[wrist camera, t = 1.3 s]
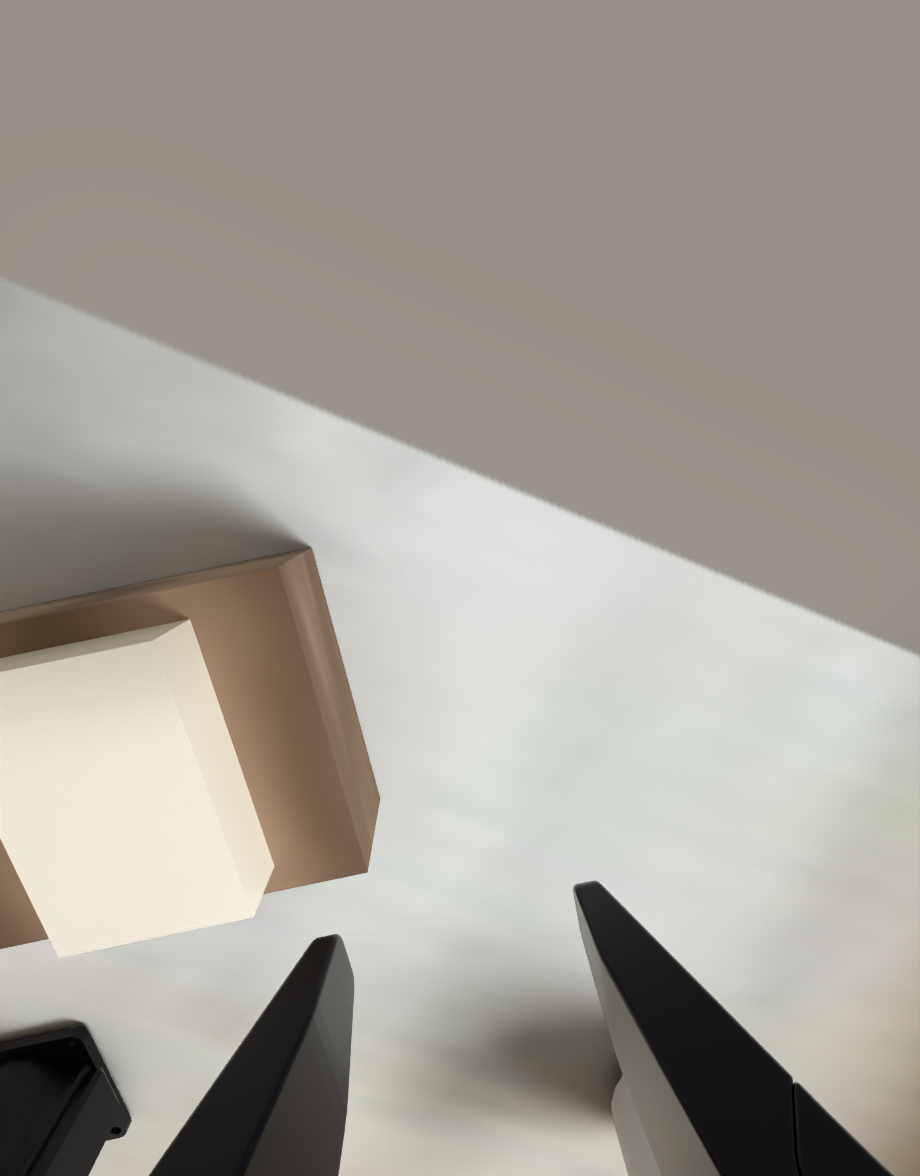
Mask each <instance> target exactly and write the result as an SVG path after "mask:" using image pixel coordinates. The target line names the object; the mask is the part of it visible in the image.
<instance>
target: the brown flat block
mask: <svg viewBox="0 0 920 1176" xmlns="http://www.w3.org/2000/svg"><path fill="white" fill-rule="evenodd" d="M188 619H190V621H191V624H192V627H193V629H194V632H195V635H196V638H197V641H198V644H199V647H200V650H201V653H202V656H203V659H204V662H205V665H206V667H207V670H208V673H209V676H210V679H211V682H212V685H213V688H214V691H215V694H216V697H217V700H218V703H219V705H220V708H221V711H222V714H223V717H224V720H225V723H226V726H227V729H228V732H229V735H230V738H231V741H232V743H233V746H234V749H235V752H236V755H237V758H238V761H239V764H240V767H241V770H242V773H243V776H244V779H245V781H246V784H247V787H248V790H249V793H250V796H251V799H252V802H253V805H254V808H255V811H256V814H257V817H258V820H259V822H260V825H261V828H262V831H263V834H264V837H265V840H266V843H267V846H268V849H269V852H270V855H271V858H272V860H273V863H274V869H273V871H272V873H271V876H270V878H269V881H268V883H267V886H266V888H265V890H264V893H263V894H266V893H271V892H276V891H280V890H285V889H290V888H295V887H300V886H304V885H309V884H314V883H319V882H323V881H328V880H333V879H338V878H343V877H347V876H352V875H357V874H362V873H367V872H368V866H369V860H370V854H371V848H372V843H373V837H374V831H375V825H376V819H377V813H378V808H379V802H380V797H379V793H378V789H377V786H376V782H375V778H374V775H373V771H372V767H371V764H370V760H369V756H368V753H367V749H366V745H365V742H364V738H363V734H362V731H361V727H360V723H359V720H358V716H357V712H356V709H355V705H354V701H353V698H352V694H351V690H350V687H349V683H348V679H347V676H346V672H345V668H344V665H343V661H342V657H341V654H340V650H339V646H338V643H337V639H336V635H335V632H334V628H333V624H332V621H331V617H330V613H329V609H328V606H327V602H326V598H325V595H324V591H323V587H322V584H321V580H320V576H319V573H318V569H317V565H316V562H315V558H314V554H313V551H312V548H307V549H302V550H298V551H293V552H288V553H283V554H278V555H273V556H269V557H264V558H259V559H254V560H249V561H244V562H239V563H235V564H230V565H225V566H220V567H215V568H210V569H205V570H201V571H196V572H191V573H186V574H181V575H176V576H172V577H167V578H162V579H157V580H152V581H147V582H142V583H138V584H133V585H128V586H123V587H118V588H113V589H108V590H104V591H99V592H94V593H89V594H84V595H79V596H75V597H70V598H65V599H60V600H55V601H50V602H45V603H41V604H36V605H31V606H26V607H21V608H16V609H11V610H7V611H2V612H0V658H4V657H8V656H13V655H18V654H23V653H28V652H33V651H37V650H42V649H47V648H52V647H57V646H62V645H67V644H71V643H76V642H81V641H86V640H91V639H96V638H100V637H105V636H110V635H115V634H120V633H125V632H129V631H134V630H139V629H144V628H149V627H154V626H159V625H163V624H168V623H173V622H178V621H183V620H188ZM45 939H49V938H48V935H47V933H46V931H45V929H44V927H43V925H42V923H41V921H40V919H39V917H38V915H37V913H36V911H35V909H34V907H33V905H32V903H31V901H30V899H29V897H28V895H27V892H26V890H25V888H24V886H23V884H22V882H21V880H20V878H19V876H18V874H17V872H16V870H15V868H14V866H13V864H12V862H11V860H10V858H9V856H8V854H7V851H6V849H5V847H4V845H3V843H2V841H1V839H0V949H2V948H7V947H12V946H17V945H22V944H26V943H31V942H36V941H41V940H45Z"/></svg>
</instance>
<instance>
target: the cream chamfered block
mask: <svg viewBox="0 0 920 1176" xmlns="http://www.w3.org/2000/svg"><path fill="white" fill-rule="evenodd" d="M0 839H1V841H2V843H3V845H4V847H5V849H6V851H7V854H8V856H9V858H10V860H11V862H12V864H13V866H14V868H15V870H16V872H17V874H18V876H19V878H20V880H21V882H22V884H23V886H24V888H25V890H26V892H27V895H28V897H29V899H30V901H31V903H32V905H33V907H34V909H35V911H36V913H37V915H38V917H39V919H40V921H41V923H42V925H43V927H44V929H45V931H46V933H47V935H48V938H49V940H50V942H51V944H52V946H53V948H54V950H55V952H56V954H57V956H58V958H61V957H66V956H71V955H76V954H80V953H85V952H90V951H95V950H100V949H104V948H109V947H114V946H119V945H124V944H128V943H133V942H138V941H143V940H147V939H152V938H157V937H162V936H167V935H171V934H176V933H181V932H186V931H191V930H195V929H200V928H205V927H210V926H215V925H219V924H224V923H229V922H234V921H238V920H243V919H248V918H253V917H254V915H255V912H256V910H257V907H258V905H259V903H260V900H261V898H262V895H263V893H264V890H265V888H266V886H267V883H268V881H269V878H270V876H271V873H272V871H273V869H274V863H273V860H272V858H271V855H270V852H269V849H268V846H267V843H266V840H265V837H264V834H263V831H262V828H261V825H260V822H259V820H258V817H257V814H256V811H255V808H254V805H253V802H252V799H251V796H250V793H249V790H248V787H247V784H246V781H245V779H244V776H243V773H242V770H241V767H240V764H239V761H238V758H237V755H236V752H235V749H234V746H233V743H232V741H231V738H230V735H229V732H228V729H227V726H226V723H225V720H224V717H223V714H222V711H221V708H220V705H219V703H218V700H217V697H216V694H215V691H214V688H213V685H212V682H211V679H210V676H209V673H208V670H207V667H206V665H205V662H204V659H203V656H202V653H201V650H200V647H199V644H198V641H197V638H196V635H195V632H194V629H193V627H192V624H191V621H190V619H188V620H183V621H178V622H173V623H168V624H163V625H159V626H154V627H149V628H144V629H139V630H134V631H129V632H125V633H120V634H115V635H110V636H105V637H100V638H96V639H91V640H86V641H81V642H76V643H71V644H67V645H62V646H57V647H52V648H47V649H42V650H37V651H33V652H28V653H23V654H18V655H13V656H8V657H4V658H0Z"/></svg>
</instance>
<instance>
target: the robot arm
mask: <svg viewBox="0 0 920 1176" xmlns="http://www.w3.org/2000/svg"><path fill="white" fill-rule="evenodd" d="M573 892H574V898H575V904H576V910H577V915H578V921H579V927H580V931H581V935H582V939H583V943H584V947H585V950H586V954H587V957H588V961H589V964H590V968H591V971H592V975H593V978H594V982H595V985H596V989H597V992H598V996H599V1000H600V1003H601V1007H602V1010H603V1014H604V1017H605V1021H606V1024H607V1028H608V1031H609V1035H610V1038H611V1041H612V1045H613V1048H614V1051H615V1054H616V1057H617V1060H618V1063H619V1066H620V1068H621V1071H622V1074H623V1077H624V1079H625V1082H626V1084H627V1087H628V1090H629V1092H630V1095H631V1097H632V1100H633V1103H634V1105H635V1108H636V1110H637V1113H638V1116H639V1118H640V1121H641V1123H642V1126H643V1129H644V1131H645V1134H646V1136H647V1139H648V1141H649V1144H650V1147H651V1149H652V1152H653V1154H654V1157H655V1160H656V1162H657V1165H658V1167H659V1170H660V1173H661V1175H662V1176H894V1175H893V1174H892V1173H891V1172H890V1171H888V1170H887V1169H886V1168H885V1167H884V1166H883V1165H882V1164H881V1163H880V1162H879V1161H878V1160H877V1159H876V1158H875V1157H874V1156H872V1155H871V1154H870V1153H869V1152H868V1151H867V1150H866V1149H865V1148H864V1147H863V1146H862V1145H861V1144H860V1143H859V1142H858V1141H857V1140H856V1139H855V1138H854V1137H853V1136H852V1135H851V1134H850V1133H849V1132H848V1131H847V1130H846V1129H845V1128H844V1127H842V1126H841V1125H840V1124H839V1123H838V1122H837V1121H836V1120H835V1119H834V1118H833V1117H832V1116H831V1115H830V1114H829V1113H828V1112H827V1111H826V1110H825V1109H824V1108H823V1107H822V1106H821V1105H820V1104H819V1103H818V1102H817V1101H816V1100H815V1099H814V1098H813V1097H812V1096H811V1095H810V1094H809V1093H808V1092H807V1091H806V1090H805V1089H804V1088H803V1087H802V1086H801V1085H800V1084H799V1083H798V1082H795V1083H794V1084H793V1079H792V1076H791V1075H790V1074H789V1073H788V1072H787V1071H786V1070H785V1069H784V1068H783V1067H782V1066H781V1065H780V1064H779V1063H778V1062H777V1061H776V1060H775V1059H774V1058H773V1057H772V1056H771V1055H770V1054H769V1053H768V1052H767V1051H766V1050H765V1049H764V1048H763V1047H762V1046H761V1045H760V1044H759V1043H758V1042H757V1041H756V1040H755V1039H754V1038H753V1037H752V1036H751V1035H750V1034H749V1033H748V1032H747V1031H746V1030H745V1029H744V1028H743V1027H742V1026H741V1025H740V1024H739V1023H738V1022H737V1021H736V1020H735V1018H734V1017H733V1016H732V1015H731V1014H730V1013H729V1012H728V1011H727V1010H726V1009H725V1008H724V1007H723V1006H722V1005H721V1004H720V1003H719V1002H718V1001H717V1000H716V999H715V998H714V997H713V996H712V995H711V994H710V993H709V992H708V991H707V990H706V989H705V988H704V987H703V986H702V985H701V984H700V983H699V982H698V981H697V980H696V979H695V978H694V977H693V976H692V975H691V974H690V973H689V972H688V971H687V970H686V969H685V968H684V967H683V966H682V965H681V964H680V963H679V962H678V961H677V960H676V959H675V958H674V957H673V956H672V955H671V954H670V953H669V952H668V951H667V950H666V949H665V948H664V947H663V946H662V945H661V944H660V943H659V942H658V941H657V940H656V939H655V938H654V937H653V936H652V935H651V934H650V933H649V932H648V931H647V930H646V929H645V928H644V927H643V926H642V925H641V924H640V923H639V922H638V921H637V920H636V919H635V918H634V917H633V916H632V915H631V914H630V913H629V912H628V911H627V910H626V909H625V908H624V907H623V906H622V905H621V904H620V903H619V902H618V901H617V900H616V899H615V898H614V897H613V896H612V895H611V894H610V893H609V892H608V891H607V890H606V889H605V888H604V887H603V886H602V885H601V884H600V883H599V882H597V881H590V882H585V883H580V884H576V885H575V886H574V888H573ZM353 1001H354V977H353V972H352V968H351V965H350V962H349V959H348V955H347V952H346V949H345V946H344V943H343V940H342V938H341V937H340V935H337V934H334V935H329V936H325V937H320V938H317V939H315V940H314V941H313V942H312V943H311V944H310V945H309V947H308V948H307V950H306V951H305V953H304V954H303V955H302V957H301V958H300V960H299V961H298V963H297V964H296V965H295V967H294V968H293V970H292V971H291V973H290V974H289V975H288V977H287V978H286V980H285V981H284V983H283V984H282V985H281V987H280V988H279V990H278V991H277V993H276V994H275V996H274V997H273V998H272V1000H271V1001H270V1003H269V1004H268V1006H267V1007H266V1008H265V1010H264V1011H263V1013H262V1014H261V1016H260V1017H259V1018H258V1020H257V1021H256V1023H255V1024H254V1026H253V1027H252V1029H251V1030H250V1031H249V1033H248V1034H247V1036H246V1037H245V1039H244V1040H243V1041H242V1043H241V1044H240V1046H239V1047H238V1049H237V1050H236V1051H235V1053H234V1054H233V1056H232V1057H231V1059H230V1060H229V1061H228V1063H227V1064H226V1066H225V1067H224V1069H223V1070H222V1072H221V1073H220V1074H219V1076H218V1077H217V1079H216V1080H215V1082H214V1083H213V1084H212V1086H211V1087H210V1089H209V1090H208V1092H207V1093H206V1094H205V1096H204V1097H203V1099H202V1100H201V1102H200V1103H199V1105H198V1106H197V1107H196V1109H195V1110H194V1112H193V1113H192V1115H191V1116H190V1117H189V1119H188V1120H187V1122H186V1123H185V1125H184V1126H183V1127H182V1129H181V1130H180V1132H179V1133H178V1135H177V1136H176V1137H175V1139H174V1140H173V1142H172V1143H171V1145H170V1146H169V1148H168V1149H167V1150H166V1152H165V1153H164V1155H163V1156H162V1158H161V1159H160V1160H159V1162H158V1163H157V1165H156V1166H155V1168H154V1169H153V1170H152V1172H151V1173H150V1175H149V1176H338V1174H339V1167H340V1160H341V1153H342V1146H343V1139H344V1131H345V1123H346V1115H347V1103H348V1089H349V1071H350V1054H351V1036H352V1019H353ZM131 1121H132V1120H131V1117H130V1115H129V1113H128V1111H127V1109H126V1107H125V1105H124V1102H123V1100H122V1098H121V1096H120V1094H119V1092H118V1090H117V1088H116V1086H115V1084H114V1082H113V1080H112V1078H111V1076H110V1074H109V1072H108V1070H107V1068H106V1066H105V1064H104V1062H103V1060H102V1058H101V1056H100V1054H99V1052H98V1050H97V1048H96V1046H95V1044H94V1041H93V1039H92V1037H91V1035H90V1033H89V1032H88V1031H87V1030H86V1029H84V1028H81V1027H74V1028H69V1029H65V1030H60V1031H55V1032H50V1033H46V1034H41V1035H36V1036H31V1037H26V1038H22V1039H17V1040H12V1041H7V1042H3V1043H0V1176H88V1175H89V1173H90V1171H91V1169H92V1167H93V1165H94V1163H95V1161H96V1159H97V1157H98V1155H99V1153H100V1151H101V1149H102V1147H103V1145H104V1143H105V1141H107V1140H111V1139H116V1138H120V1137H123V1136H124V1135H125V1134H126V1132H127V1130H128V1128H129V1126H130V1124H131Z"/></svg>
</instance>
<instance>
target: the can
mask: <svg viewBox="0 0 920 1176" xmlns="http://www.w3.org/2000/svg"><path fill="white" fill-rule="evenodd" d="M611 1110H612V1115H613V1121H614V1125H615V1129H616V1132H617V1136H618V1140H619V1143H620V1147H621V1150H622V1154H623V1158H624V1161H625V1165H626V1169H627V1172H628V1176H662V1175H661V1173H660V1170H659V1167H658V1165H657V1162H656V1160H655V1157H654V1154H653V1152H652V1149H651V1147H650V1144H649V1141H648V1139H647V1136H646V1134H645V1131H644V1129H643V1126H642V1123H641V1121H640V1118H639V1116H638V1113H637V1110H636V1108H635V1105H634V1103H633V1100H632V1097H631V1095H630V1092H629V1090H628V1087H627V1084H626V1082H625V1079H624V1077H623V1074H622V1076H621V1079H620V1080H619V1082H618V1084H617V1085H616V1087H615V1090H614V1094H613V1098H612V1102H611Z"/></svg>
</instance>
